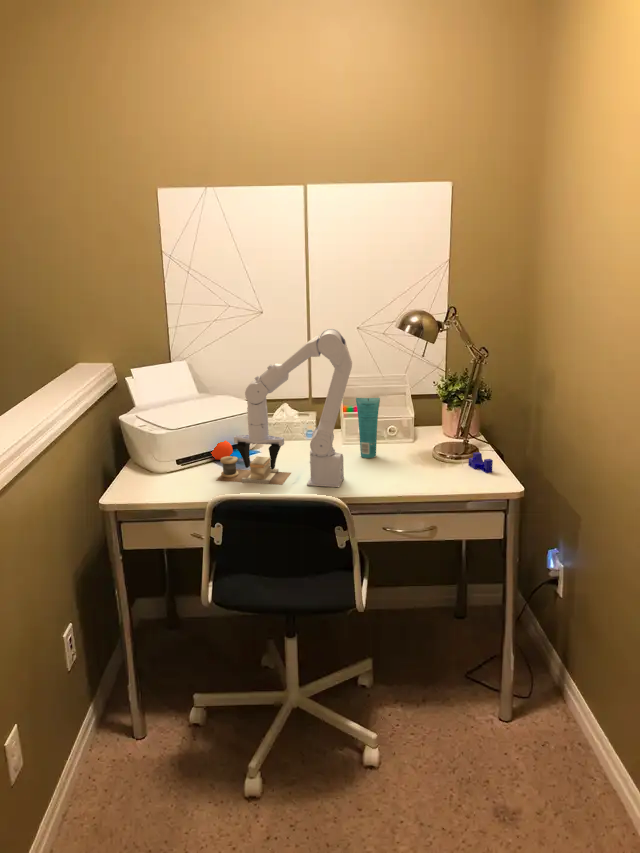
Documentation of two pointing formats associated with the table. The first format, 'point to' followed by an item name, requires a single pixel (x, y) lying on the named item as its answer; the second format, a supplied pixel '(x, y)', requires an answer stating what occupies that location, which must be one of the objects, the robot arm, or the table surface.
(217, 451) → the clementine
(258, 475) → the block
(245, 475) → the brown rectangular board
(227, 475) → the spool
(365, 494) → the table surface
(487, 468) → the cable holder
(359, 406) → the tube
